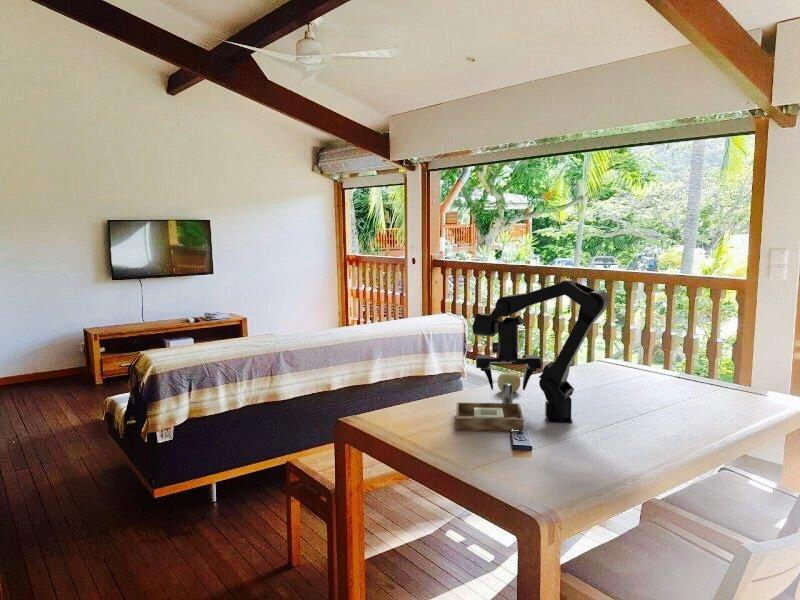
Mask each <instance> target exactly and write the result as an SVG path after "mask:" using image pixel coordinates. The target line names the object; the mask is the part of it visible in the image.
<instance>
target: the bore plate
mask: <svg viewBox="0 0 800 600" xmlns="http://www.w3.org/2000/svg"><path fill="white" fill-rule="evenodd" d="M474 418H504V415H503V410H502V408H474Z"/></svg>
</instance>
